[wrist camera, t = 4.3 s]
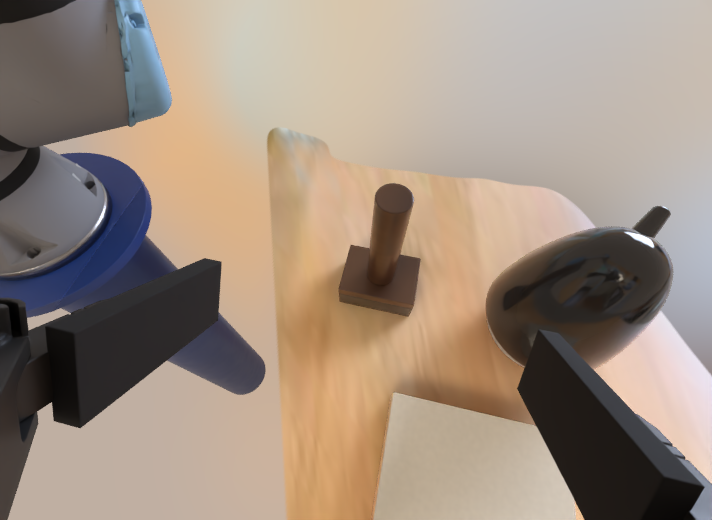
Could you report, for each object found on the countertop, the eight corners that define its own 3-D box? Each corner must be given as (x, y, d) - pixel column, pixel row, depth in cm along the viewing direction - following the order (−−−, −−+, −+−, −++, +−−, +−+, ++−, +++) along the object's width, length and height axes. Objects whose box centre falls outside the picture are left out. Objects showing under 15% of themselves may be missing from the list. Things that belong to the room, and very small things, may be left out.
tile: (362, 573, 24) (363, 583, 22) (390, 395, 29) (393, 391, 28) (568, 633, 22) (586, 648, 21) (555, 434, 28) (569, 433, 26)
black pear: (599, 328, 33) (769, 245, 20) (547, 411, 29) (713, 378, 16) (509, 263, 36) (601, 155, 23) (451, 330, 32) (522, 247, 19)
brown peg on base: (339, 301, 34) (334, 217, 21) (350, 259, 36) (351, 162, 24) (408, 316, 33) (443, 238, 21) (415, 272, 35) (450, 179, 23)
